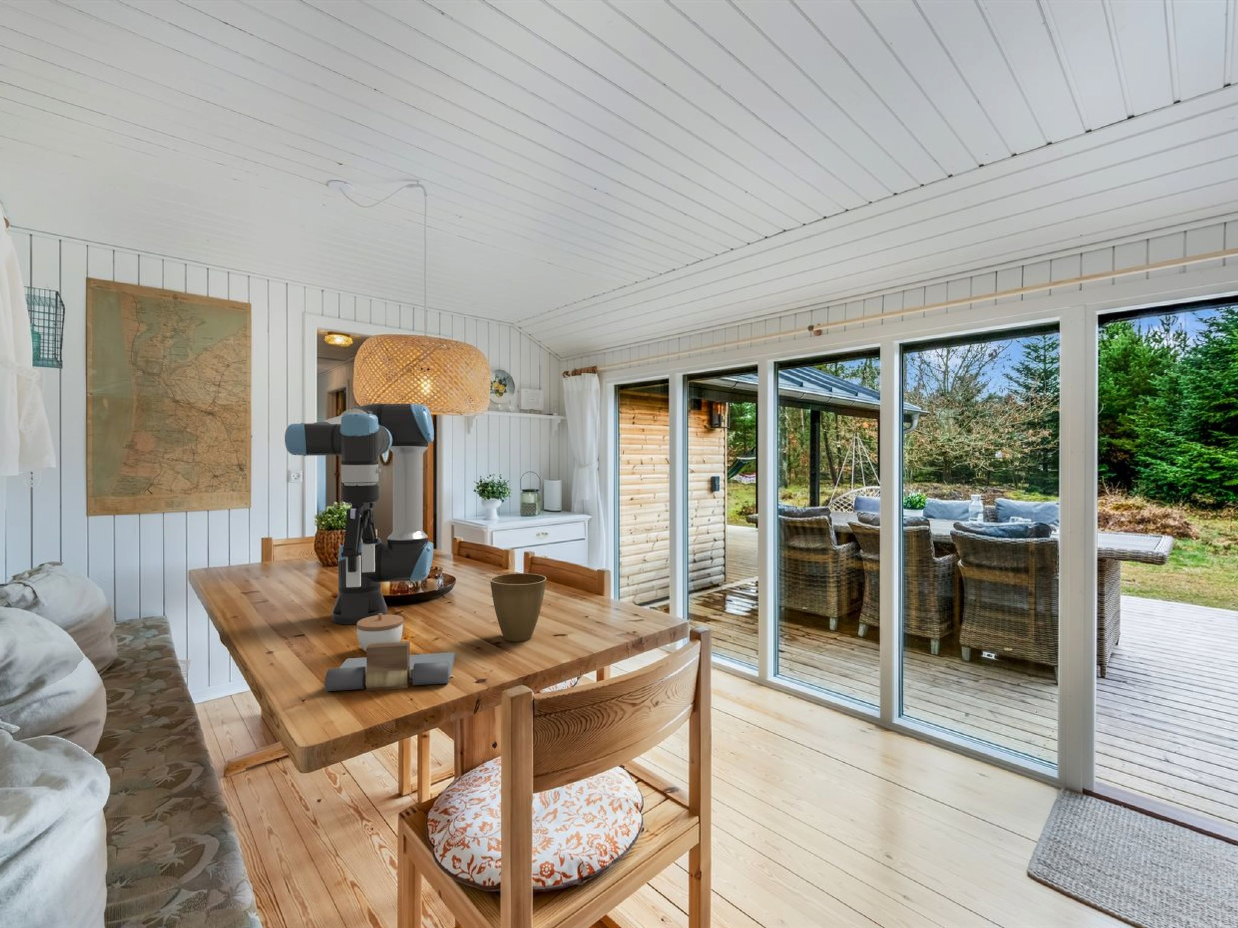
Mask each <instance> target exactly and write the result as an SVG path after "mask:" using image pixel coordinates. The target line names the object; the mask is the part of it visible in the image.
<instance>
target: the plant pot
mask: <svg viewBox="0 0 1238 928" xmlns="http://www.w3.org/2000/svg"><path fill="white" fill-rule="evenodd" d="M489 582H490V587H491V597H492V602H493V606H494V611H495V614H496V615H495V616H496V620H497V622H498V625H499V628H500V631H501V634H502V637H503V639H504V640H506V641H509V642H524V641H528V640H530V639H531V638H532V636H533V634H534V631H535V628H536V625H537V624H538V620H539V616H540V613H541V609H542V605H543V602H544V595H545V591H546V584H547V577H546V576H545V575H541V574H537V573H524V572H523V573H522V572H521V573H504V574H500V575H496V576H493V577H491V578H490V579H489Z"/></svg>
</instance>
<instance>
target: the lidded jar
mask: <svg viewBox="0 0 1238 928" xmlns="http://www.w3.org/2000/svg"><path fill="white" fill-rule="evenodd" d="M403 628H404V617H403V616H401V615H398V614H387V615H383V614H382V613H379V614H378V615H376V616H371V617H367V618H364V619H361V620H359V621H358V622H357V624H356V634H357V641H358V643H359V646H360V647H361V649H363V651H365V652H366V653H367V647H368V645H369V644H370V643H380V642H398V641H401V640H402V636H403V630H404V629H403Z"/></svg>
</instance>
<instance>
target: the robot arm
mask: <svg viewBox="0 0 1238 928" xmlns="http://www.w3.org/2000/svg"><path fill="white" fill-rule="evenodd" d="M434 431H435V429H434V424H433V418H432V414H431V411H430V409H429V408H428V406H426V405H425V404H419V403H418V404H415V403H370V404H369V403H368V404H365V405H364V404H363V405H359V406H357V407H356V406H355V407H353V408H352V407H351V408H349V409H347V410H344V411H343V412H342V413H341V414H340V415H338V416H335V417H331V418H327V419H325V420H321V421H317V422H312V423H307V422H305V423H304V422H301V423H291V424H289V425H287V428H286V429H285V433H284V445H285V449H286V450H287V452H288V453H289V454H290V455H292V456H303V457H308V456H314V457H316V456H340V459H341V461H340V462H341V463H340V469H341V470H340V475H341V476H340V482H341V483H343V485H342V486H341V501H342V502H343V503H347V504H348V503H350V504H351V508H347V509H346V521H345V522H346V523H345V528H344V529H345V531H344V538H343V539H344V540H343V544H342V545H341V546H340V547H339V549H338V556H337V557H338V559H337V562H338V563H337V570H338V571H337V573H338V575H337V578H338V590H337V591H338V592H337V593H338V594H337V597H336V600H335V602H334V606H333V609H332V611H331V621H332V622H333V623H335V624H339V625H357V622H358V621H359V620H361V619H364V618H367V617H371V616H376V615H378V614H379V613H382V614H383V615H388V606H387V603H386V602H385V598H384V596H383V595H384V594H383V592H382V587H381V586H382V584H381V583H392V582H393V583H396V582H410V583H412V582H421V581H424V580H426V579H427V578H428V576H429V574H430V571H431V568H432V563H433V557H434V543H433V542H431V541H429V536H428V534H426V532H424V530H423V529H424V528H423V527H424V526H423V522H424V521H423V520H424V514H423V511H424V510H423V509H424V508H423V507H424V500H423V499H424V453H425V452H426V451H427V450H428V449H429V444H430V443H433V442H434V440H435V437H434V435H435V432H434ZM389 450H390V451H391V452H392V532H391V534H389V535H388V536H387V538H386V540H387V541H386V542H385V543H382V540H381V538H379V537H378V536H377V530H376V529H377V528H376V521H375V513H374V502H377V501H379V499H380V486H379V485H378V482H379V474H380V473H382V469H381V468H379V456H382V455H383V454H385V453H387V452H388V451H389Z"/></svg>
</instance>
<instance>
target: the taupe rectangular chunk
mask: <svg viewBox="0 0 1238 928" xmlns="http://www.w3.org/2000/svg"><path fill="white" fill-rule="evenodd" d="M410 645H411V641H410V640H404V641H403V640H402V641H401V640H400V641H398V642H380V643H370V644H369V645H368V647H367V652H366V657H367V673H366V686H365V688H366V691H367V692H369V691H382V690H383V691H384V690H385V691H386V690H397V689H398V690H399V689H408V688H409V685H410V683H411V679H410V655H411V646H410Z"/></svg>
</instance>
